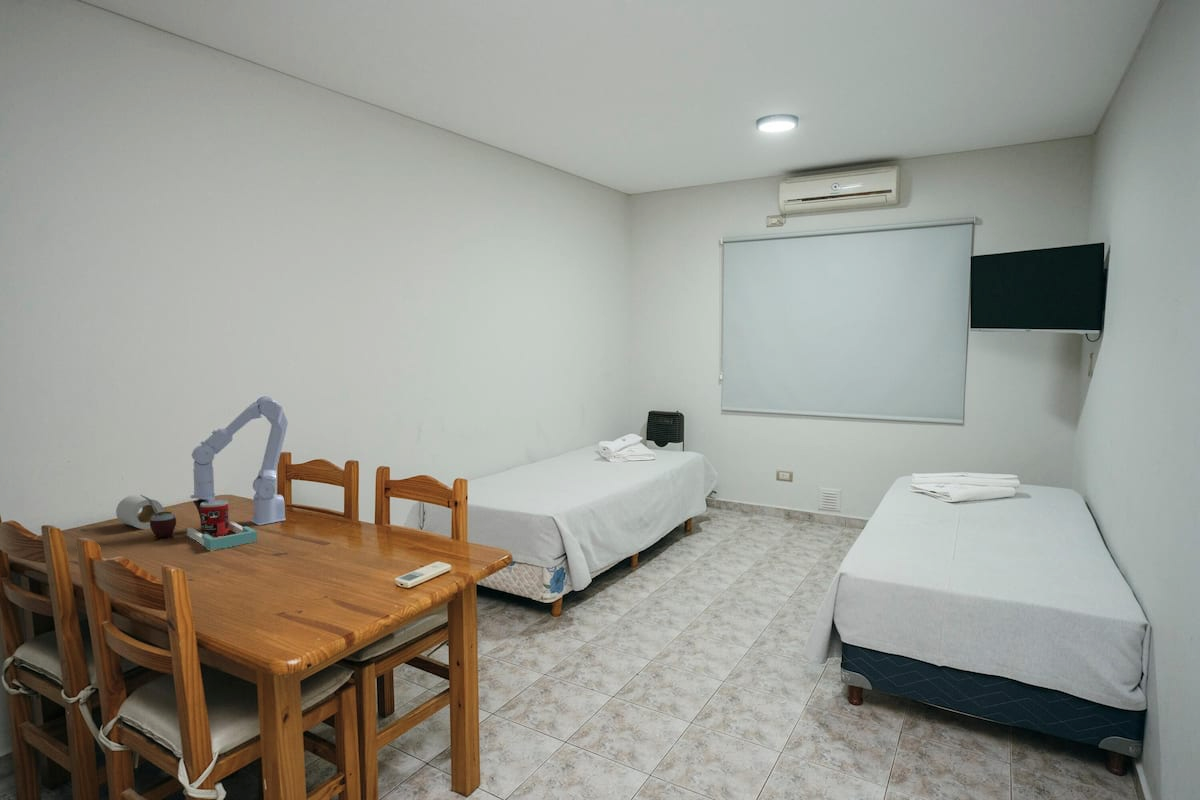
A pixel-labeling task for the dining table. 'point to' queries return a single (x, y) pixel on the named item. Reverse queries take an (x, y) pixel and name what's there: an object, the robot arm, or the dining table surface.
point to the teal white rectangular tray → (225, 537)
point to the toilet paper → (130, 509)
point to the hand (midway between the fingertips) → (205, 520)
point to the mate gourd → (162, 523)
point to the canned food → (214, 518)
